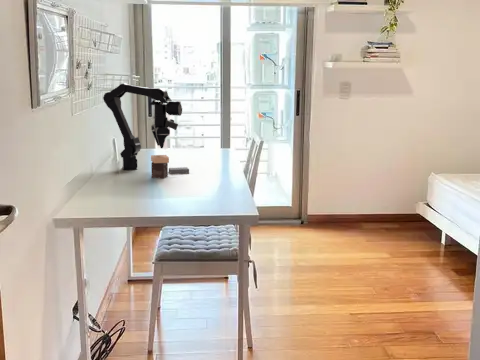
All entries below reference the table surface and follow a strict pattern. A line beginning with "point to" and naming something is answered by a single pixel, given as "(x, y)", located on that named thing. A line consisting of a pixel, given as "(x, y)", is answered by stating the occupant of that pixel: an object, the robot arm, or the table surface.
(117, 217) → the table surface
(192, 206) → the table surface
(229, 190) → the table surface
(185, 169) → the block
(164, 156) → the tile
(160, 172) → the box
